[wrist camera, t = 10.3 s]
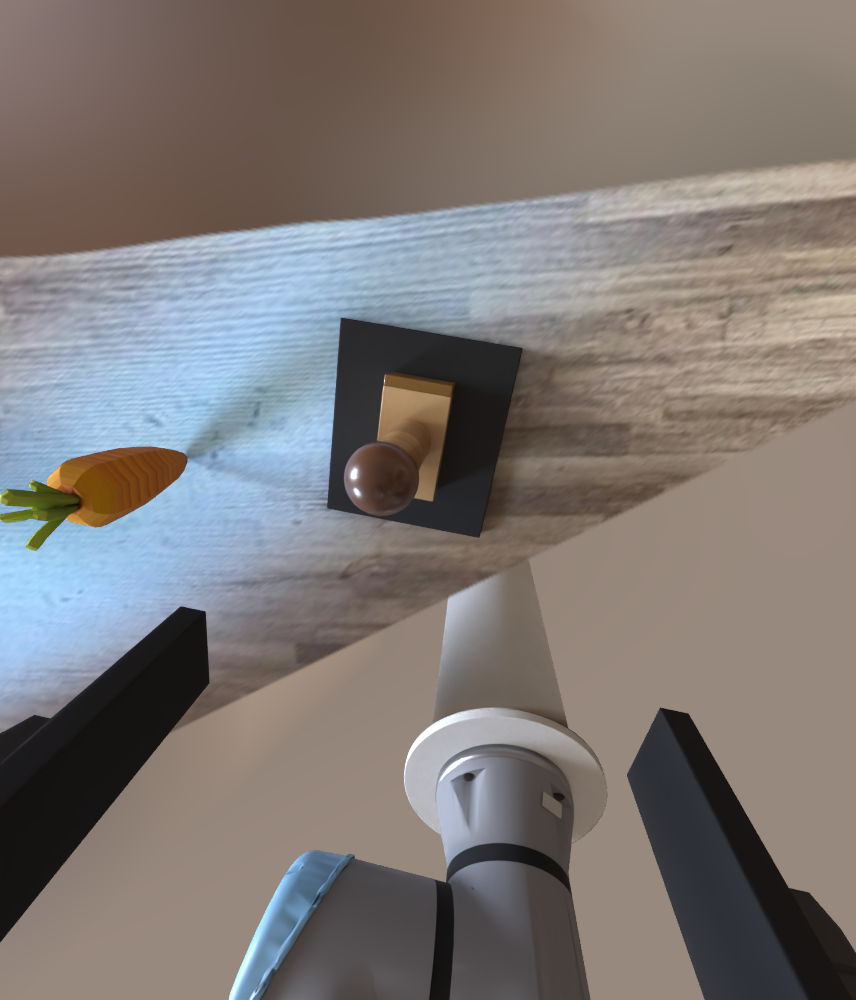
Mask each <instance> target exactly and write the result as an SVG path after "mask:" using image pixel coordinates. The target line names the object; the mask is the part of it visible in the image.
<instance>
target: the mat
mask: <svg viewBox="0 0 856 1000" xmlns="http://www.w3.org/2000/svg"><path fill="white" fill-rule="evenodd" d="M521 353H522V348H518V347H512V346H506V345H500V344H494V343H488V342H482V341H476V340H470V339H464V338H458V337H452V336H447V335H441V334H435V333H429V332H423V331H417V330H411V329H405V328H399V327H393V326H387V325H381V324H375V323H369V322H363V321H357V320H351V319H345V318H341V323H340V337H339V351H338V365H337V379H336V393H335V407H334V421H333V435H332V449H331V463H330V477H329V491H328V505H327V508H329V509H334V510H339V511H344V512H349V513H354V514H360V515H365V516H370V517H375V518H380V519H385V520H390V521H396V522H401V523H406V524H411V525H416V526H421V527H426V528H432V529H437V530H442V531H447V532H452V533H457V534H463V535H468V536H473V537H478V538H479V537H480V533H481V528H482V524H483V520H484V515H485V511H486V506H487V502H488V498H489V493H490V489H491V484H492V480H493V476H494V471H495V467H496V462H497V458H498V454H499V449H500V445H501V440H502V436H503V432H504V427H505V423H506V418H507V414H508V410H509V405H510V401H511V396H512V392H513V388H514V383H515V379H516V374H517V370H518V366H519V361H520V357H521ZM392 372H397V373H402V374H408V375H414V376H420V377H425V378H431V379H437V380H443V381H448V382H454V383H455V388H454V392H453V399H452V405H451V411H450V416H449V422H448V428H447V433H446V439H445V445H444V450H443V456H442V462H441V467H440V473H439V479H438V484H437V490H436V493H435V496H434V500H433V501H427V500H422V499H417V498H413V500H412V501H411V503H410V504H409V505H408V506H407V507H405V508H404V509H403V510H401V511H399V512H397V513H395V514H391V515H387V516H377V515H372V514H369V513H366V512H364V511H363V510H361V509H360V508H358V507H357V506H356V505H355V504H354V503H353V502H352V501H351V499H350V498H349V496H348V494H347V491H346V489H345V484H344V473H345V468H346V465H347V463H348V461H349V459H350V457H351V456H352V455H353V454H354V452H355V451H357V450H358V449H359V448H360V447H362V446H364V445H366V444H368V443H371V442H376V441H377V439H378V430H379V421H380V412H381V403H382V395H383V386H384V378H385V374H388V373H392Z"/></svg>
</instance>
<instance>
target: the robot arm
mask: <svg viewBox="0 0 856 1000" xmlns="http://www.w3.org/2000/svg"><path fill="white" fill-rule="evenodd" d="M208 684H209V665H208V646H207V628H206V612H205V611H200V610H196V609H191V608H186V607H179V608H178V609H177V610H176V611H175V612H174V613H173V614H171V615H170V616H169V617H168V618H167V619H166V620H164V621H163V622H162V623H161V624H160V625H159V626H157V627H156V628H155V629H154V630H153V631H152V632H151V633H149V634H148V635H147V636H146V637H145V638H144V639H142V640H141V641H140V642H139V643H138V644H137V645H135V646H134V647H133V648H132V649H131V650H130V651H129V652H127V653H126V654H125V655H124V656H123V657H122V658H120V659H119V660H118V661H117V662H116V663H115V664H113V665H112V666H111V667H110V668H109V669H108V670H107V671H105V672H104V673H103V674H102V675H101V676H100V677H98V678H97V679H96V680H95V681H94V682H93V683H91V684H90V685H89V686H88V687H87V688H86V689H85V690H83V691H82V692H81V693H80V694H79V695H78V696H76V697H75V698H74V699H73V700H72V701H71V702H70V703H68V704H67V705H66V706H65V707H64V708H63V709H61V710H60V711H59V712H58V713H57V714H56V715H54V716H53V717H52V718H51V719H50V718H45V717H41V716H37V715H34V716H32V717H30V718H28V719H26V720H24V721H22V722H21V723H19V724H17V725H15V726H13V727H11V728H10V729H8V730H6V731H4V732H2V733H0V942H1V941H2V940H3V938H4V937H5V936H6V934H7V933H8V932H9V931H10V930H11V928H12V927H13V926H14V925H15V923H16V922H17V921H18V920H19V919H20V917H21V916H22V915H23V914H24V912H25V911H26V910H27V909H28V907H29V906H30V905H31V904H32V902H33V901H34V900H35V899H36V897H37V896H38V895H39V894H40V892H41V891H42V890H43V889H44V888H45V886H46V885H47V884H48V883H49V881H50V880H51V879H52V878H53V876H54V875H55V874H56V873H57V871H58V870H59V869H60V868H61V866H62V865H63V864H64V863H65V861H66V860H67V859H68V858H69V857H70V855H71V854H72V853H73V851H74V850H75V849H76V848H77V847H78V845H79V844H80V843H81V841H82V840H83V839H84V838H85V837H86V835H87V834H88V833H89V832H90V830H91V829H92V828H93V827H94V825H95V824H96V823H97V822H98V820H99V819H100V818H101V817H102V815H103V814H104V813H105V812H106V811H107V809H108V808H109V807H110V806H111V804H112V803H113V802H114V801H115V799H116V798H117V797H118V796H119V794H120V793H121V792H122V791H123V790H124V788H125V787H126V786H127V785H128V783H129V782H130V781H131V780H132V778H133V777H134V776H135V775H136V773H137V772H138V771H139V770H140V768H141V767H142V766H143V765H144V763H145V762H146V761H147V760H148V758H149V757H150V756H151V755H152V753H153V752H154V751H155V750H156V749H157V747H158V746H159V745H160V744H161V742H162V741H163V740H164V739H165V737H166V736H167V735H168V734H169V732H170V731H171V730H172V729H173V728H174V726H175V725H176V724H177V723H178V721H179V720H180V719H181V718H182V716H183V715H184V714H185V713H186V711H187V710H188V709H189V708H190V706H191V705H192V704H193V703H194V701H195V700H196V699H197V698H198V697H199V695H200V694H201V693H202V692H203V690H204V689H205V688H206V687H207V685H208ZM627 777H628V780H629V783H630V786H631V789H632V792H633V794H634V797H635V800H636V803H637V806H638V809H639V812H640V815H641V817H642V820H643V823H644V826H645V829H646V832H647V835H648V838H649V840H650V843H651V846H652V849H653V852H654V855H655V858H656V861H657V864H658V866H659V869H660V872H661V875H662V878H663V881H664V883H665V887H666V890H667V892H668V895H669V898H670V901H671V904H672V907H673V910H674V912H675V915H676V918H677V921H678V924H679V927H680V930H681V933H682V936H683V938H684V941H685V944H686V947H687V950H688V953H689V956H690V959H691V962H692V964H693V967H694V970H695V973H696V976H697V979H698V982H699V985H700V987H701V990H702V993H703V996H704V999H705V1000H856V952H855V951H854V949H853V948H852V946H851V944H850V943H849V941H848V940H847V938H846V937H845V935H844V933H843V932H842V930H841V929H840V928H839V926H838V925H837V924H836V923H835V922H834V921H833V920H832V918H831V917H830V916H829V915H828V914H827V913H826V911H825V910H824V909H823V908H822V907H821V906H820V905H819V903H818V902H817V901H816V900H815V899H814V898H813V897H812V895H811V894H810V893H808V892H804V891H799V890H795V889H791V888H788V886H787V884H786V883H785V881H784V879H783V877H782V876H781V874H780V872H779V870H778V869H777V867H776V866H775V863H774V862H773V860H772V858H771V856H770V855H769V853H768V851H767V850H766V848H765V846H764V844H763V843H762V841H761V839H760V837H759V835H758V834H757V832H756V830H755V829H754V827H753V825H752V824H751V822H750V820H749V818H748V816H747V815H746V813H745V811H744V809H743V808H742V806H741V804H740V802H739V801H738V799H737V797H736V795H735V794H734V792H733V790H732V788H731V787H730V785H729V783H728V782H727V780H726V778H725V777H724V775H723V773H722V771H721V770H720V768H719V766H718V764H717V762H716V761H715V759H714V757H713V756H712V754H711V752H710V750H709V749H708V747H707V745H706V743H705V742H704V740H703V738H702V736H701V735H700V733H699V731H698V729H697V728H696V726H695V724H694V722H693V721H692V719H691V718H690V715H689V714H688V713H683V712H678V711H673V710H668V709H664V708H660V709H659V711H658V713H657V715H656V717H655V719H654V721H653V723H652V725H651V727H650V729H649V732H648V733H647V736H646V737H645V739H644V742H643V744H642V745H641V748H640V750H639V752H638V754H637V756H636V758H635V760H634V762H633V764H632V766H631V768H630V770H629V772H628V774H627ZM435 802H436V811H437V816H438V821H439V826H440V831H441V836H442V841H443V846H444V851H445V856H446V861H447V879H446V883H445V882H441V881H438V880H434V879H432V878H428V877H424V876H420V875H416V874H412V873H408V872H404V871H400V870H396V869H392V868H388V867H384V866H380V865H376V864H372V863H368V862H365V861H361V860H357V859H354V858H355V856H354V855H352V854H348V855H347V856H344V855H339V854H333V853H328V852H323V851H315V850H314V851H309V852H307V853H305V854H303V855H302V856H300V857H299V858H298V859H297V860H296V861H295V862H294V863H293V865H292V866H291V867H290V868H289V870H288V871H287V873H286V874H285V876H284V878H283V880H282V881H281V883H280V885H279V887H278V888H277V890H276V892H275V894H274V896H273V898H272V900H271V902H270V904H269V906H268V908H267V910H266V912H265V914H264V916H263V918H262V920H261V922H260V925H259V926H258V929H257V931H256V933H255V936H254V938H253V940H252V942H251V944H250V946H249V949H248V951H247V953H246V956H245V958H244V961H243V963H242V965H241V968H240V970H239V972H238V975H237V977H236V980H235V983H234V985H233V988H232V991H231V993H230V997H229V1000H590V995H589V989H588V984H587V978H586V972H585V967H584V961H583V956H582V950H581V944H580V939H579V933H578V928H577V922H576V916H575V911H574V905H573V899H572V893H571V888H570V882H569V874H568V870H569V862H570V852H571V843H572V833H573V824H574V802H573V798H572V793H571V788H570V784H569V782H568V780H567V778H566V776H565V775H564V773H563V772H562V771H561V769H560V768H559V767H558V766H557V765H556V764H554V763H553V762H552V761H551V760H549V759H548V758H546V757H545V756H543V755H541V754H539V753H537V752H535V751H532V750H529V749H526V748H523V747H519V746H514V745H507V744H486V745H479V746H475V747H471V748H468V749H465V750H463V751H461V752H459V753H457V754H455V755H454V756H453V757H451V758H450V759H449V760H448V761H447V762H446V763H445V764H444V765H443V767H442V768H441V770H440V772H439V774H438V777H437V783H436V793H435Z"/></svg>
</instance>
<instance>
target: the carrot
mask: <svg viewBox="0 0 856 1000" xmlns="http://www.w3.org/2000/svg"><path fill="white" fill-rule="evenodd" d="M186 465H187V456H186V455H185V454H184V453H181V452H178V451H175V450H170V449H165V448H158V447H129V448H118V449H113V450H108V451H103V452H98V453H94V454H90V455H86V456H81V457H77V458H73V459H70V460H68V461H66V462H64V463H63V464H61V465H60V466H59V467H58V468H57V469H56V470H55V471H54V472H53V473H52V474H51V475H50V476H49V477H48V478H47V485H48V486H47V485H44V484H42V483H39V482H37V481H34V480H32V481H31V482H29V484H30V488H31V489H32V490H34V491H36V492H33V491H24V490H10V489H7V490H5V491H4V492H2V493H1V495H0V502H1V503H3V504H4V505H8V506H21V507H31V509H29V510H24V511H18V512H12V513H5V514H0V519H1V520H2V521H3V522H6V523H11V522H18V521H23V520H27V519H31V518H33V519H35V520H41V521H48V522H47V523H46V524H44V525H43V526H42V527H41V528H40V529H39V530H37V531H36V532H35V533H34V534H33V536H32V537H31V538H30V539H29V541H28V542H27V544H26V546H25V548H27V549H29V550H34V551H36V550H38V548H39V547H40V546H41V545H42V544H43V542H44V541H45V540H46V538H47V537H48V536H49V535H50V534H51V533H52V532H53V531H54V530H55V529H56V528H57V527H58V526H59V525H60V524H61V523H62V522H63V521H64V520H65V519H67V520H68V521H70V522H73V523H78V524H82V525H87V526H92V527H102V526H104V525H107V524H109V523H111V522H113V521H115V520H117V519H119V518H121V517H123V516H125V515H127V514H128V513H130V512H132V511H134V510H136V509H137V508H139V507H141V506H143V505H145V504H146V503H148V502H149V501H150V500H152V499H153V498H154V497H156V496H157V495H158V494H160V493H161V492H162V491H163V490H164V489H166V488H167V487H168V486H169V485H171V484H172V483H173V482H174V481H175V480H177V479H178V478H179V477H180V475H181V474H182V473H183V471H184V469H185V467H186Z"/></svg>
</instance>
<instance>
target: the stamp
mask: <svg viewBox="0 0 856 1000" xmlns="http://www.w3.org/2000/svg"><path fill="white" fill-rule="evenodd" d="M454 388H455V383H454V382H448V381H443V380H437V379H431V378H425V377H420V376H414V375H408V374H402V373H397V372H392V373H388V374H385V378H384V386H383V395H382V403H381V412H380V421H379V430H378V439H377V441H376V442H371V443H368V444H366V445H364V446H362V447H360V448H359V449H358V450H357V451H355V452H354V454H353V455H352V456H351V457H350V459H349V461H348V463H347V465H346V468H345V473H344V484H345V489H346V491H347V494H348V496H349V498H350V499H351V501H352V502H353V503H354V504H355V505H356V506H357V507H358V508H360V509H361V510H363V511H364V512H366V513H369V514H372V515H377V516H387V515H391V514H395V513H397V512H399V511H401V510H403V509H404V508H405V507H407V506H408V505H409V504H410V503H411V501H412V500H413V498H417V499H422V500H427V501H433V500H434V496H435V493H436V490H437V484H438V479H439V473H440V467H441V462H442V456H443V450H444V445H445V439H446V433H447V428H448V422H449V416H450V411H451V405H452V399H453V392H454Z"/></svg>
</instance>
